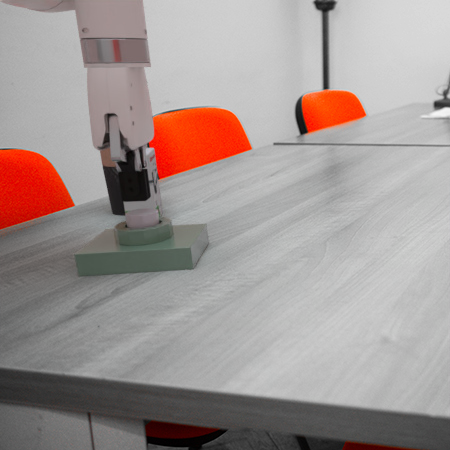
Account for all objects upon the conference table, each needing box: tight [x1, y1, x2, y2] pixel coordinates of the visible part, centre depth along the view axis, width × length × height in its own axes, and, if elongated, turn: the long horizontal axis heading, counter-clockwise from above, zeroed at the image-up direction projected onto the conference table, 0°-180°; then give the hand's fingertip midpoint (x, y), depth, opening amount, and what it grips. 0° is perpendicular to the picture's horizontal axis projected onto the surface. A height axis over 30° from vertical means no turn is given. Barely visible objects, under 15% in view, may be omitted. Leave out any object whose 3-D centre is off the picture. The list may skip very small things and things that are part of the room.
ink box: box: [123, 147, 164, 217], centre depth 95 cm, size 9×5×12 cm, turn 16°
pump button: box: [124, 208, 160, 229], centre depth 76 cm, size 4×4×2 cm
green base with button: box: [73, 216, 210, 277], centre depth 77 cm, size 14×11×5 cm
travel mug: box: [99, 146, 149, 216], centre depth 101 cm, size 8×8×20 cm
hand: (136, 199), depth 75 cm, fingers closed
